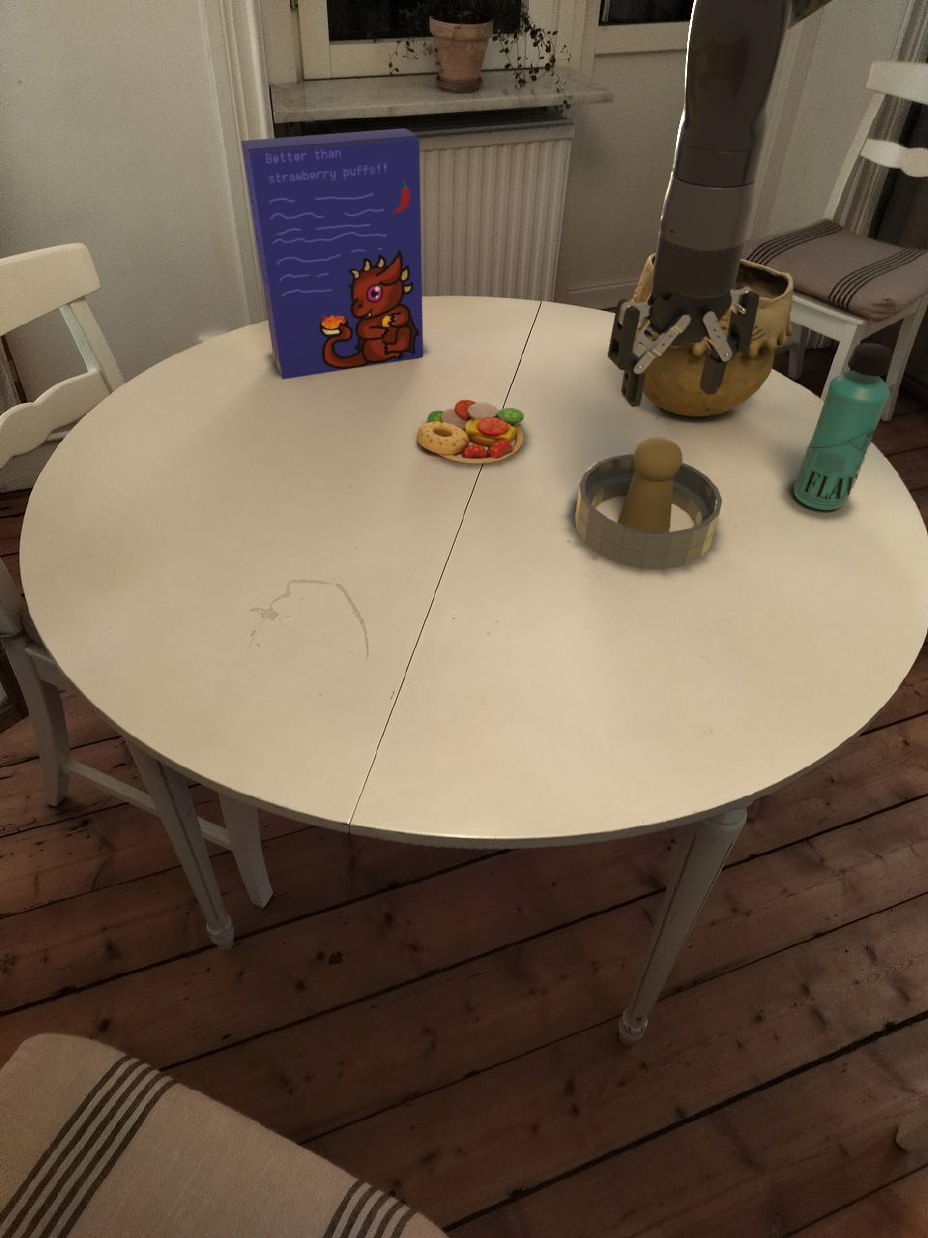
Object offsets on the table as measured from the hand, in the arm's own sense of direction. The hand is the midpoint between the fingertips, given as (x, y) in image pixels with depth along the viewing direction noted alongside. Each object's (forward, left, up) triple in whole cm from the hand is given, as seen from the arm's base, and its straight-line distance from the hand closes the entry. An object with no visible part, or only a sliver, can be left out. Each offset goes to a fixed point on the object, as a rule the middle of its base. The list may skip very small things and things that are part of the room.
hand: (670, 397), depth 85 cm
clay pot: (+9, -30, -17) cm, 36 cm away
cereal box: (+56, -10, -17) cm, 59 cm away
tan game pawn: (0, 0, -17) cm, 17 cm away
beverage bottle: (-14, -18, -17) cm, 29 cm away
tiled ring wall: (0, 0, -17) cm, 17 cm away
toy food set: (+27, -3, -17) cm, 32 cm away
